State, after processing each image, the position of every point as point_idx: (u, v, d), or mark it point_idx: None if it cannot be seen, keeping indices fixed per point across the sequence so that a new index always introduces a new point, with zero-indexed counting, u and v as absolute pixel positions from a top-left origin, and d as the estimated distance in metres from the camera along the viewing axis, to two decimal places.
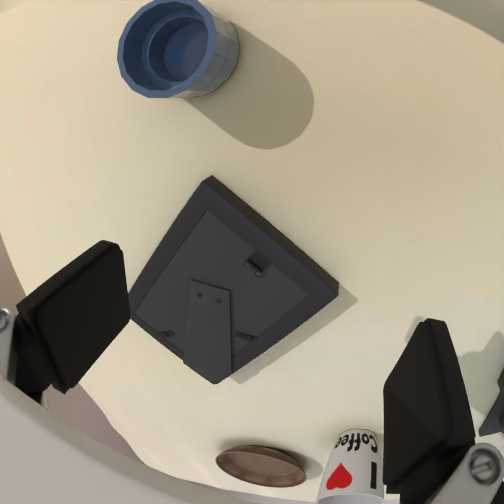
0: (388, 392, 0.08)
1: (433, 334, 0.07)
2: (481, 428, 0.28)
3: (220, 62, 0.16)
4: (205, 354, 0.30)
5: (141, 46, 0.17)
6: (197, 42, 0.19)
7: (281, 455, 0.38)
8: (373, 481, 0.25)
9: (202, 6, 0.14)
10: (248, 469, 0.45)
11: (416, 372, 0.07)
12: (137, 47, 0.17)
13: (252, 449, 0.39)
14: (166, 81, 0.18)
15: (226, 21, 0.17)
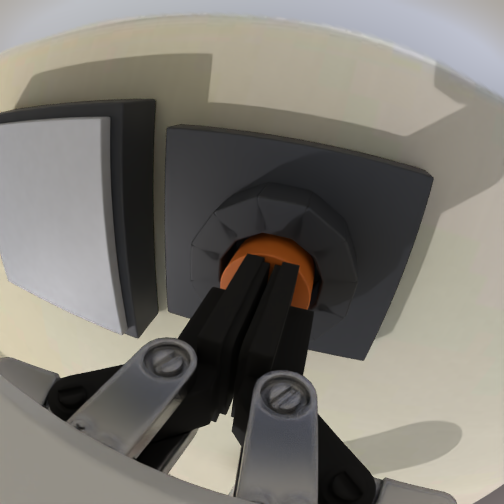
0: None
1: (278, 273, 0.09)
2: None
3: None
4: None
5: None
6: None
7: None
8: None
9: None
10: None
11: None
12: None
13: None
14: None
15: None
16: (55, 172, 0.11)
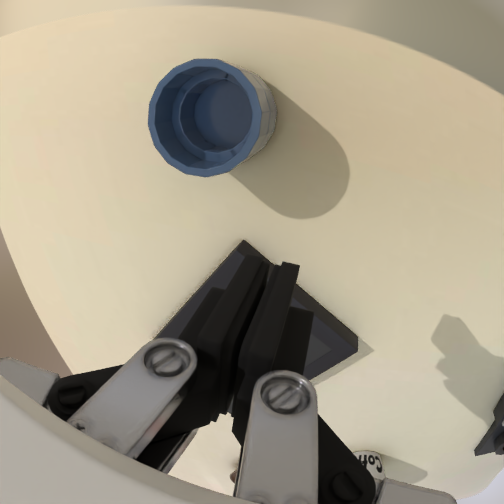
0: None
1: (278, 273, 0.09)
2: (477, 448, 0.30)
3: (261, 139, 0.18)
4: None
5: (172, 106, 0.18)
6: (231, 103, 0.20)
7: None
8: None
9: (245, 78, 0.15)
10: None
11: None
12: (168, 108, 0.18)
13: None
14: (201, 149, 0.20)
15: (265, 85, 0.18)
16: None
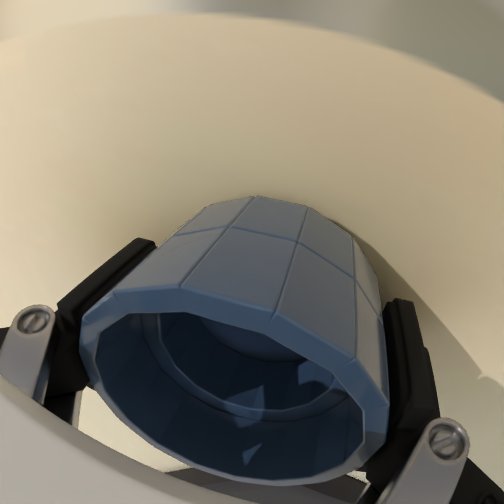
0: None
1: (398, 312, 0.07)
2: None
3: None
4: None
5: (139, 314, 0.08)
6: None
7: None
8: None
9: (369, 380, 0.04)
10: None
11: None
12: (130, 330, 0.08)
13: None
14: (215, 397, 0.09)
15: (372, 282, 0.07)
16: None
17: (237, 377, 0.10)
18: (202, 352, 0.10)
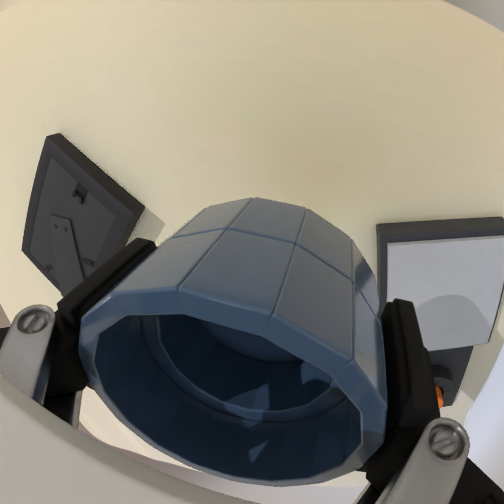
0: None
1: (398, 312, 0.07)
2: None
3: None
4: (70, 283, 0.32)
5: (138, 316, 0.08)
6: None
7: None
8: None
9: (367, 382, 0.04)
10: None
11: None
12: (129, 331, 0.08)
13: None
14: (214, 398, 0.09)
15: (371, 283, 0.07)
16: (473, 321, 0.21)
17: (236, 378, 0.10)
18: (201, 353, 0.10)
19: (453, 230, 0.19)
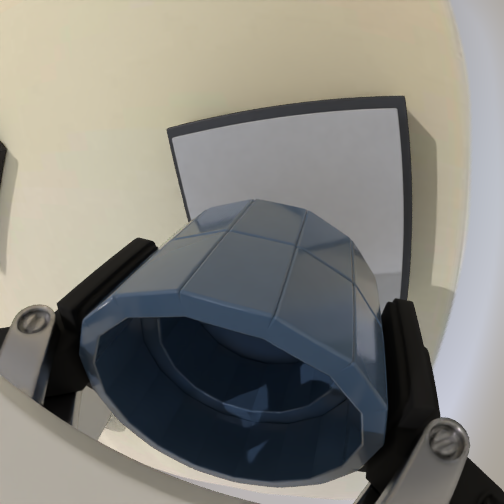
0: None
1: (398, 312, 0.07)
2: None
3: None
4: None
5: (139, 317, 0.08)
6: None
7: None
8: None
9: (368, 384, 0.04)
10: None
11: None
12: (130, 332, 0.08)
13: None
14: (215, 399, 0.09)
15: (372, 285, 0.07)
16: None
17: (237, 379, 0.10)
18: (202, 354, 0.10)
19: None
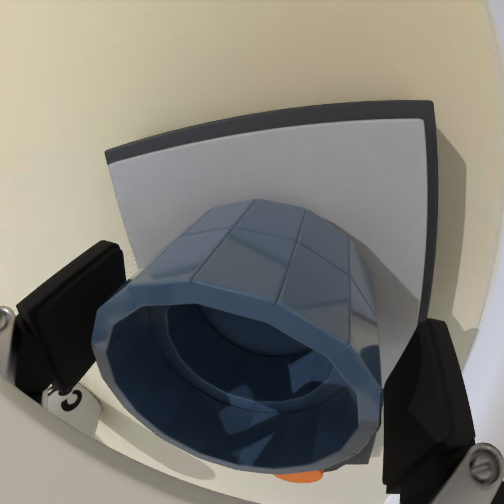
0: (387, 392, 0.08)
1: (433, 334, 0.07)
2: None
3: None
4: None
5: (147, 310, 0.09)
6: None
7: None
8: None
9: (362, 365, 0.05)
10: None
11: (416, 372, 0.07)
12: (139, 324, 0.08)
13: None
14: (219, 389, 0.10)
15: (367, 279, 0.08)
16: None
17: (239, 371, 0.10)
18: (206, 347, 0.10)
19: None
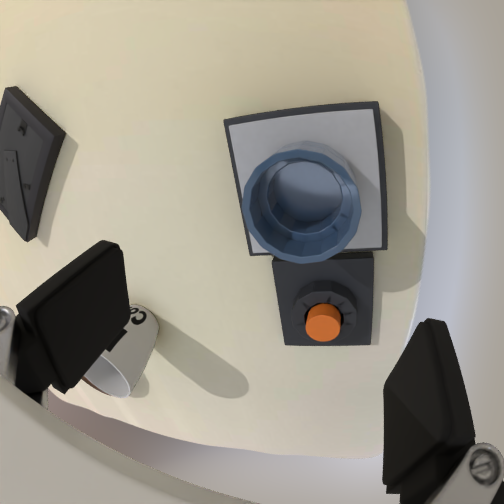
0: (387, 392, 0.08)
1: (433, 334, 0.07)
2: None
3: None
4: (15, 210, 0.34)
5: (259, 184, 0.20)
6: (313, 180, 0.21)
7: None
8: (111, 343, 0.29)
9: (349, 177, 0.16)
10: None
11: (416, 372, 0.07)
12: (257, 188, 0.20)
13: None
14: (287, 229, 0.21)
15: (351, 170, 0.19)
16: None
17: (295, 224, 0.22)
18: (279, 212, 0.22)
19: None
